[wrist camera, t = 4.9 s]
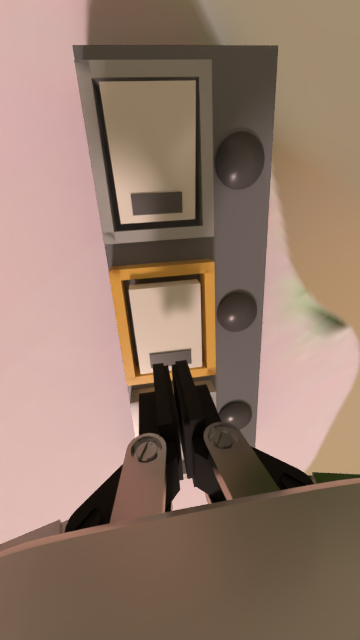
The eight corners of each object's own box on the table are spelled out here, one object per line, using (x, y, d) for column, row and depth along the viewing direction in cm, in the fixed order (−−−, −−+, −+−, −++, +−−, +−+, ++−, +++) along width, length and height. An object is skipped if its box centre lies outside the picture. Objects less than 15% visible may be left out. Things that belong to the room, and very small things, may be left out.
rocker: (101, 85, 11) (98, 81, 10) (191, 84, 12) (196, 80, 11) (121, 219, 14) (120, 224, 14) (191, 214, 15) (195, 219, 14)
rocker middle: (129, 284, 15) (128, 290, 14) (196, 279, 15) (200, 284, 14) (140, 365, 17) (140, 375, 16) (199, 358, 18) (202, 367, 17)
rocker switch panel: (85, 78, 15) (63, 22, 11) (254, 76, 16) (294, 24, 12) (142, 447, 25) (141, 493, 21) (242, 432, 26) (261, 472, 22)
